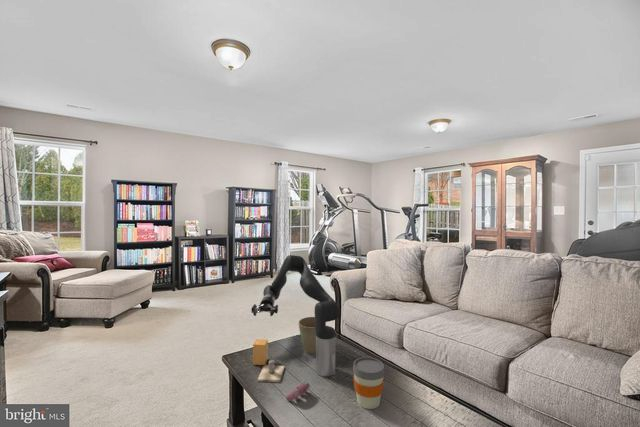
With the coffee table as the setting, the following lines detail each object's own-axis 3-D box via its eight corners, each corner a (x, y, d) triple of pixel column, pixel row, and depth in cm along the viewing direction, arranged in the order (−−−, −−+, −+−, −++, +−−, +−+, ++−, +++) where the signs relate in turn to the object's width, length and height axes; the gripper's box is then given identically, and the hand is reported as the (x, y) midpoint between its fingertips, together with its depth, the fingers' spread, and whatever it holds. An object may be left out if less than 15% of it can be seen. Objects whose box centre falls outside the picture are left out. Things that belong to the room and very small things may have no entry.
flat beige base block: (284, 367, 146) (284, 355, 146) (279, 382, 134) (279, 368, 134) (264, 367, 146) (264, 354, 146) (257, 381, 134) (257, 368, 134)
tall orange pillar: (267, 358, 154) (267, 339, 154) (265, 365, 148) (265, 344, 148) (256, 358, 155) (256, 339, 155) (253, 364, 149) (253, 344, 149)
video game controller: (291, 407, 119) (297, 395, 117) (284, 398, 122) (290, 386, 120) (307, 395, 127) (313, 383, 125) (300, 387, 130) (306, 375, 128)
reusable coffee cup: (351, 391, 127) (351, 356, 127) (381, 392, 127) (381, 357, 127) (354, 411, 115) (354, 372, 115) (387, 412, 114) (387, 373, 114)
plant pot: (297, 345, 170) (297, 317, 170) (323, 344, 171) (324, 316, 171) (298, 358, 155) (299, 327, 155) (327, 357, 157) (327, 326, 156)
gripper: (255, 296, 176) (249, 307, 160) (280, 296, 176) (276, 307, 160) (255, 308, 177) (249, 320, 161) (279, 309, 177) (276, 321, 161)
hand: (262, 314), depth 160 cm, fingers open, 8 cm apart
